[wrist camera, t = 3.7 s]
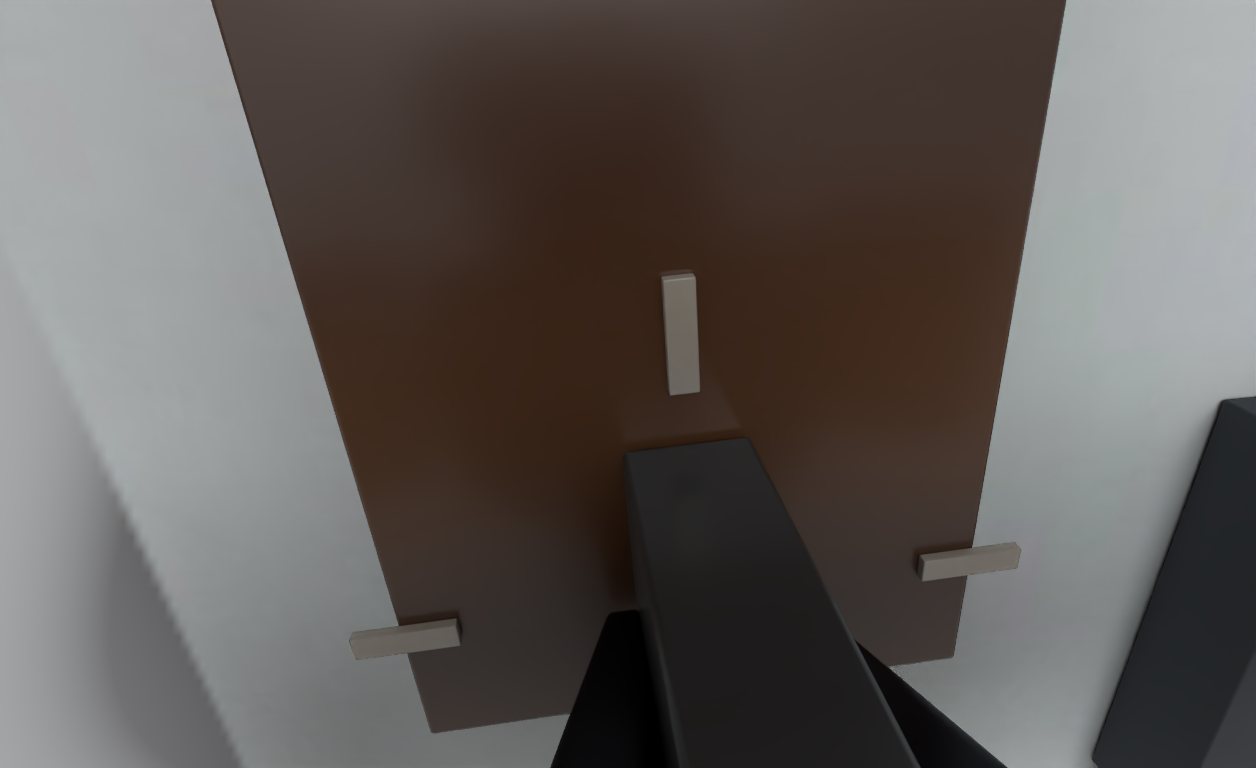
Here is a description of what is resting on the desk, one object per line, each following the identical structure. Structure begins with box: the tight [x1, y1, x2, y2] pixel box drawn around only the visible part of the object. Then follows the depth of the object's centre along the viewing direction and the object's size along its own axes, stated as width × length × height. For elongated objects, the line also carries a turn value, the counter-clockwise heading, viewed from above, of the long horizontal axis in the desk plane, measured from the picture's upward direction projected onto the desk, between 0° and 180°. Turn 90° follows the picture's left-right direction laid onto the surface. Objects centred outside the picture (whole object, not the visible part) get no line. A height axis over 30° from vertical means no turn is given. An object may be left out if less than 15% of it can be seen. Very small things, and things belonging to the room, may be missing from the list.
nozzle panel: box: [211, 0, 1066, 733], centre depth 9 cm, size 19×9×3 cm, turn 5°
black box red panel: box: [622, 437, 921, 768], centre depth 8 cm, size 5×2×5 cm, turn 4°
